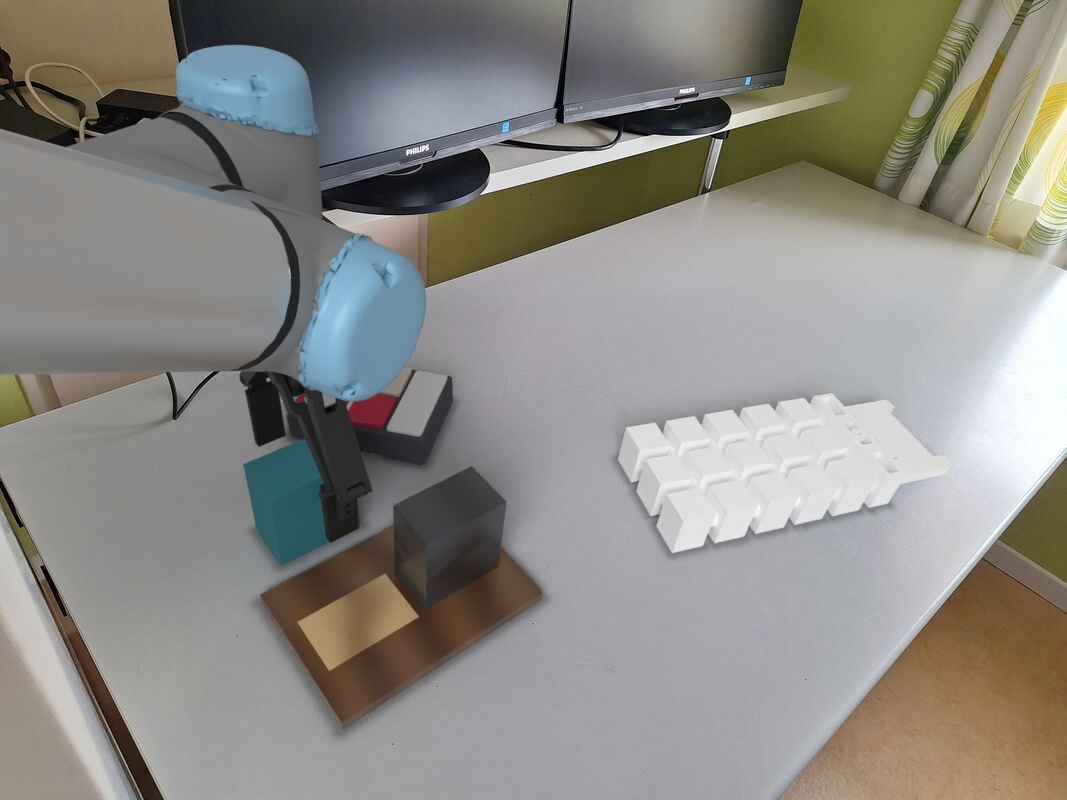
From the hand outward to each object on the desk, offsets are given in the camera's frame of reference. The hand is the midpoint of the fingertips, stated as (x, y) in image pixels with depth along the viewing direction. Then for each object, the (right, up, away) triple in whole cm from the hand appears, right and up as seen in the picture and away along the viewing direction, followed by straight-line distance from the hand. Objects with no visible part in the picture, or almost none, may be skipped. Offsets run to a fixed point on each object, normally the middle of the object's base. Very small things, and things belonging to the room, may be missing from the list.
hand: (304, 483), depth 68 cm
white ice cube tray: (+48, -1, +16) cm, 51 cm away
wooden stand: (+9, -10, -1) cm, 14 cm away
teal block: (-1, -5, +4) cm, 6 cm away
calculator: (+3, +5, +16) cm, 17 cm away
